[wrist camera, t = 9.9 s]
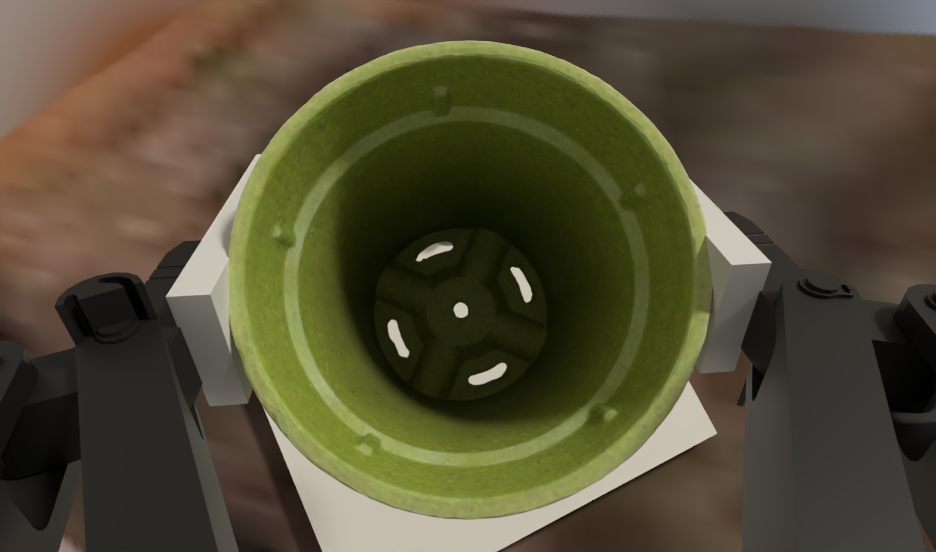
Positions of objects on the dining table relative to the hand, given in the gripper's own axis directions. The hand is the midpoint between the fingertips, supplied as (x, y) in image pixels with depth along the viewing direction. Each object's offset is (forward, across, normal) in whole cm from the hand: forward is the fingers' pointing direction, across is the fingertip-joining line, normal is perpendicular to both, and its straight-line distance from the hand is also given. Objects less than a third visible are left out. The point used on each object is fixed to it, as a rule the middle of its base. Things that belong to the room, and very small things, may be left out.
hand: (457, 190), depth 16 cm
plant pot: (+1, 0, -5) cm, 5 cm away
